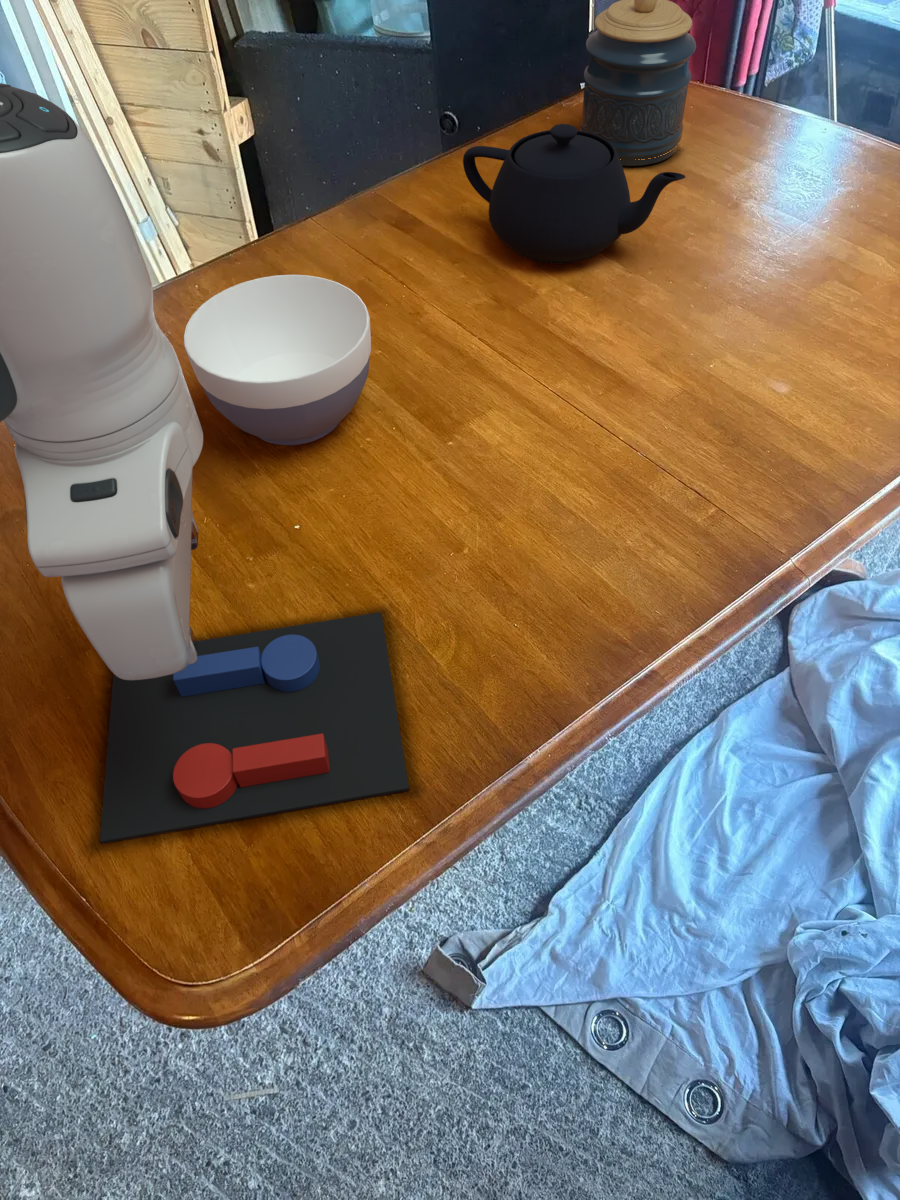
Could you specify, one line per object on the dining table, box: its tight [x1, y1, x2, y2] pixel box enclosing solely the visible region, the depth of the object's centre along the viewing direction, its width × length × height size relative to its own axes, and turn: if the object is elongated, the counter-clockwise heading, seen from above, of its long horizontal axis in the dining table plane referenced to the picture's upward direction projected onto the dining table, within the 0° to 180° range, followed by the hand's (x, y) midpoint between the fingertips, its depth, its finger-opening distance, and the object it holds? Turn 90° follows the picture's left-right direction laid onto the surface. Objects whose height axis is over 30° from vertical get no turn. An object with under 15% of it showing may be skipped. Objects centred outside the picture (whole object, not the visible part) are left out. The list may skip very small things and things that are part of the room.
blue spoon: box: [173, 635, 320, 697], centre depth 64 cm, size 10×4×2 cm, turn 100°
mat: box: [99, 611, 410, 845], centre depth 62 cm, size 20×15×1 cm
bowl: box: [183, 274, 372, 446], centre depth 80 cm, size 16×16×10 cm
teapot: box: [462, 123, 686, 265], centre depth 96 cm, size 25×16×12 cm, turn 63°
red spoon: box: [173, 734, 330, 808], centre depth 59 cm, size 10×4×2 cm, turn 100°
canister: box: [579, 0, 697, 167], centre depth 108 cm, size 13×13×18 cm
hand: (185, 596), depth 57 cm, fingers open, 8 cm apart
